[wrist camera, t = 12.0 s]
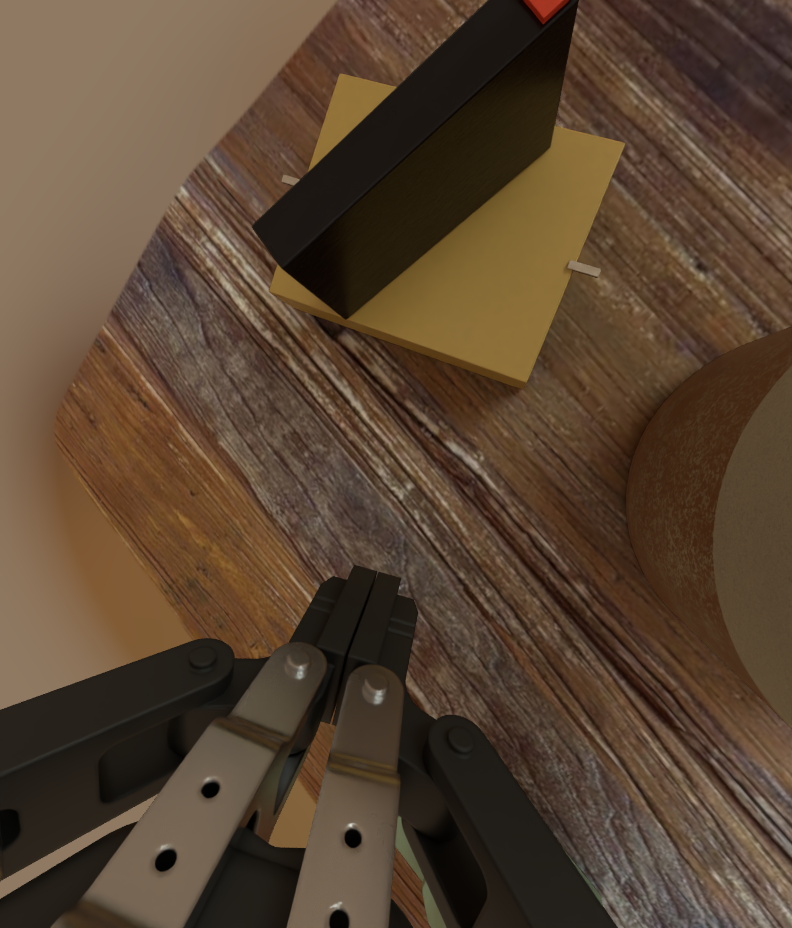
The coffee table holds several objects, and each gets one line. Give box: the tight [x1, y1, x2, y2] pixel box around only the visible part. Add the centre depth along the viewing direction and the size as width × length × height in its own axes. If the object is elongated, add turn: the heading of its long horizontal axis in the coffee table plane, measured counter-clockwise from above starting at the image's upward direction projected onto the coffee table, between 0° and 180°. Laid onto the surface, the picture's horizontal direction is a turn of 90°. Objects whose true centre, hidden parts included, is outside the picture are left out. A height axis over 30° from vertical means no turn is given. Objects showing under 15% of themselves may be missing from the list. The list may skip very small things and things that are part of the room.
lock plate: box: [269, 74, 625, 389], centre depth 23 cm, size 16×11×3 cm
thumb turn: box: [252, 0, 579, 320], centre depth 18 cm, size 12×2×7 cm, turn 126°
